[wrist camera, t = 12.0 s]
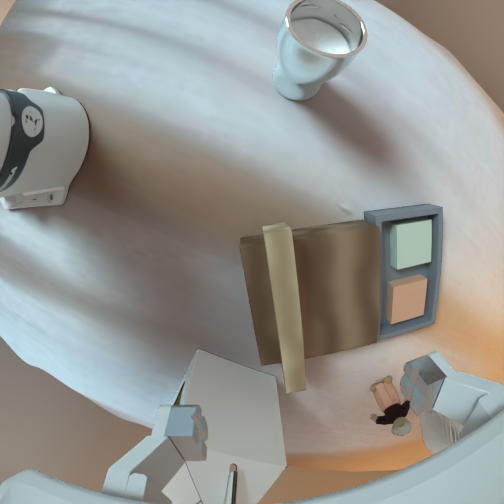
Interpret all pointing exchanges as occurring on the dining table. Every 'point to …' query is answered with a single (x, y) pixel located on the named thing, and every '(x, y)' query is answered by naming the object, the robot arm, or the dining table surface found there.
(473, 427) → the robot arm
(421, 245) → the sage tile
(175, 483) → the gable box
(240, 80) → the dining table surface
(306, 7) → the beer glass
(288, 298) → the bar
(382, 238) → the box
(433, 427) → the shell sculpture
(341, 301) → the dark wooden square block
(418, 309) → the terracotta tile
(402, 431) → the grandmother figurine
